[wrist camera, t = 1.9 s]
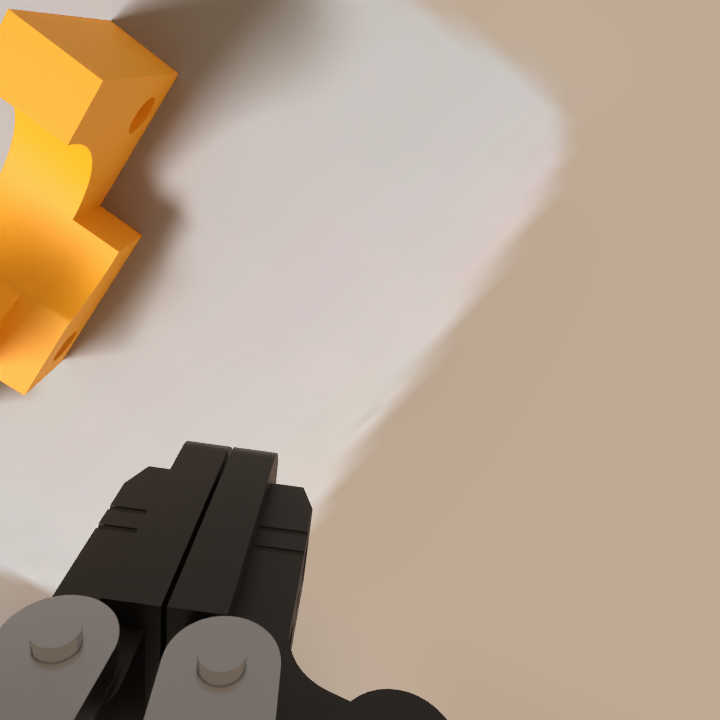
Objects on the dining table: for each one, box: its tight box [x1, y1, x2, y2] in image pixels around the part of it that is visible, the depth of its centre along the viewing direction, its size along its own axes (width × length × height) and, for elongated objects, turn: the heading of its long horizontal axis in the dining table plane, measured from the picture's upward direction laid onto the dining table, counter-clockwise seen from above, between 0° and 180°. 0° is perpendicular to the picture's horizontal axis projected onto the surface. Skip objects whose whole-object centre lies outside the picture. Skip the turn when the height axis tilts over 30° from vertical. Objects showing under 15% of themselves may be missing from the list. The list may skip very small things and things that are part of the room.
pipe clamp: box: [0, 9, 179, 395], centre depth 22 cm, size 12×4×6 cm, turn 142°
